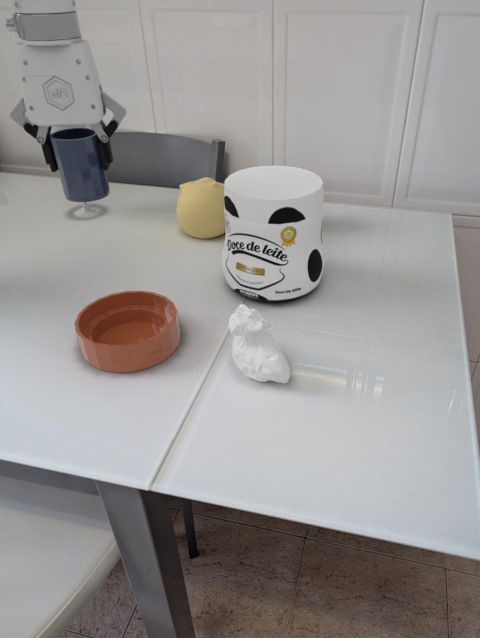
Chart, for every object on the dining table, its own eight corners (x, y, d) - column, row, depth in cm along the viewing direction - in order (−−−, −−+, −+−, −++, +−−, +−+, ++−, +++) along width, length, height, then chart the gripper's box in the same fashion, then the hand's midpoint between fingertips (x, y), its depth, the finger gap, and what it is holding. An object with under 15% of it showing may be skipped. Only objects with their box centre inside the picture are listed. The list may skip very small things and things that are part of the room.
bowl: (72, 378, 67) (63, 349, 64) (94, 319, 78) (87, 292, 75) (176, 373, 68) (172, 344, 65) (183, 316, 79) (180, 289, 76)
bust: (238, 358, 74) (188, 322, 66) (273, 321, 73) (228, 280, 65) (278, 408, 65) (227, 374, 57) (318, 368, 65) (272, 327, 57)
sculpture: (240, 222, 107) (238, 171, 100) (227, 246, 98) (224, 193, 91) (189, 218, 109) (184, 168, 102) (171, 242, 99) (165, 189, 93)
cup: (60, 203, 75) (43, 140, 69) (70, 187, 80) (55, 128, 75) (106, 201, 75) (93, 139, 70) (112, 185, 81) (101, 126, 75)
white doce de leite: (228, 316, 79) (222, 206, 68) (219, 264, 92) (212, 166, 81) (334, 306, 81) (345, 198, 70) (309, 257, 94) (315, 160, 83)
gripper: (-31, 33, 61) (15, 178, 72) (113, 31, 62) (136, 174, 73) (-9, 27, 67) (30, 162, 78) (121, 25, 68) (142, 158, 79)
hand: (81, 167), depth 75 cm, fingers closed on cup, 6 cm apart
